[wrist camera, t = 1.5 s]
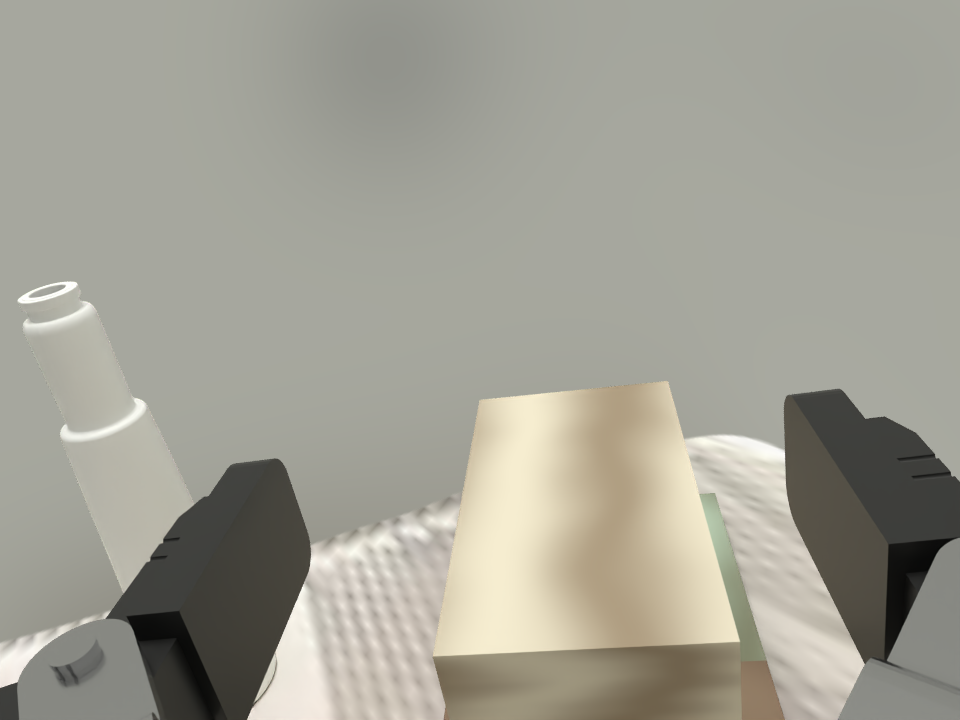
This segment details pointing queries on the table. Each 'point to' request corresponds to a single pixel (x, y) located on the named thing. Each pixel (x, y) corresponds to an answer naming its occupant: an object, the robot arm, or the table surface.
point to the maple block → (585, 568)
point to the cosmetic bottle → (106, 432)
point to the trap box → (740, 626)
